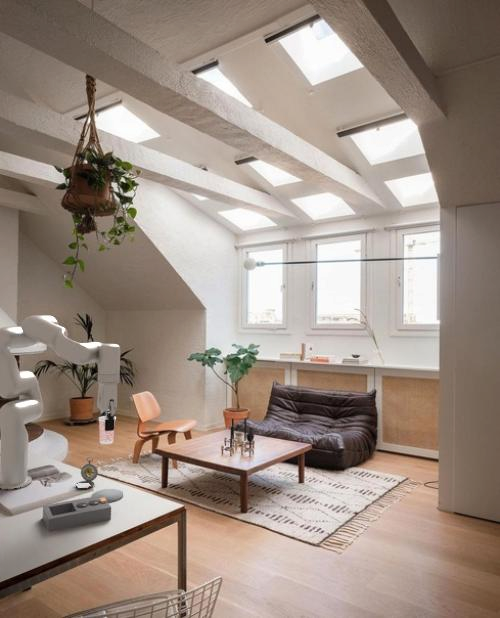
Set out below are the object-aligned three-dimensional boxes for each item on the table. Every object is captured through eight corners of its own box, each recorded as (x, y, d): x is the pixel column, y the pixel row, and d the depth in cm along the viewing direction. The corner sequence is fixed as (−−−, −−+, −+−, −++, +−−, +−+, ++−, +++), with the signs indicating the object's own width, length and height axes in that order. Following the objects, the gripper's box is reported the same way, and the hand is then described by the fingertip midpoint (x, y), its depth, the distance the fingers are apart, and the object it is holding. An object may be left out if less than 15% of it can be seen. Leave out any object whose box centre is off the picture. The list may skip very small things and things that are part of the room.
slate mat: (88, 493, 176) (88, 492, 176) (118, 488, 182) (118, 487, 182) (95, 505, 167) (95, 503, 167) (127, 499, 173) (127, 497, 173)
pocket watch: (77, 491, 178) (77, 464, 178) (74, 483, 186) (74, 457, 186) (99, 487, 182) (100, 461, 182) (95, 480, 190) (96, 455, 190)
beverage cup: (93, 443, 171) (95, 404, 171) (104, 439, 177) (106, 401, 177) (108, 445, 169) (109, 406, 169) (118, 441, 175) (120, 403, 174)
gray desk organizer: (42, 517, 156) (43, 503, 156) (101, 506, 166) (102, 492, 166) (48, 532, 146) (49, 516, 146) (110, 519, 157) (111, 504, 156)
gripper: (92, 375, 178) (90, 423, 178) (104, 382, 163) (102, 435, 163) (112, 374, 182) (111, 421, 182) (125, 381, 167) (124, 433, 167)
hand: (106, 427), depth 173 cm, fingers closed on beverage cup, 6 cm apart
